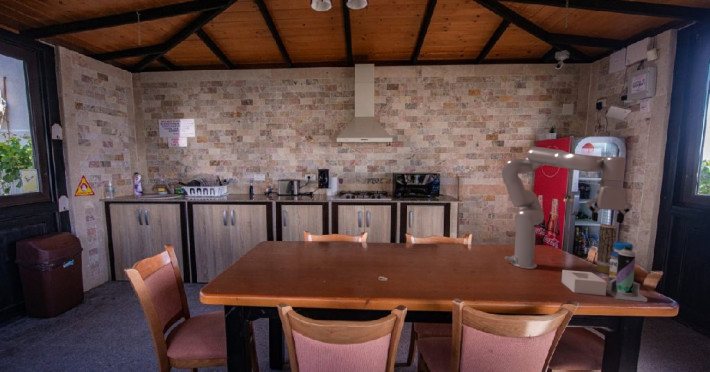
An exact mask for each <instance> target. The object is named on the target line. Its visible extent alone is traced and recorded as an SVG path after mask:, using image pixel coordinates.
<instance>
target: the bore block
mask: <svg viewBox="0 0 710 372" xmlns="http://www.w3.org/2000/svg"><path fill="white" fill-rule="evenodd" d="M561 283H562V284H563V285H564V286H566V287H567V288H568V289H569V290H570V291H571V292H573V293H576V294H585V295H586V294H587V295H597V296H607V292H606V286H608V285H607V284H608V283H607V281H606V280H604V279H603V278H601V277H599V276H598V275H596V274H595V273H593V272H591V271H579V270H567V269H562V272H561Z"/></svg>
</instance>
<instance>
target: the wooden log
mask: <svg viewBox="0 0 710 372" xmlns="http://www.w3.org/2000/svg"><path fill="white" fill-rule="evenodd" d="M617 228H618V226H617V225H614V224H608V223H607V224H606V223H600V224H599V230H598V243H597V254H596V255H597V257H596V268H595V269H596V271H597V272H599V273H601V272H602V274H606V275H609V273H610V259H611V256H610V255H611V253H612V252H613V251H614V250H615V249H613V244H614V242H617Z"/></svg>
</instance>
